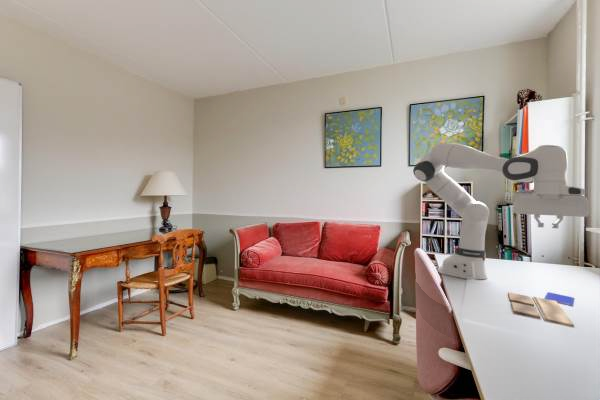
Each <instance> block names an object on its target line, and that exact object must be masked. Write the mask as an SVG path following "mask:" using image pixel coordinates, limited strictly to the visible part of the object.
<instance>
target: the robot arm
mask: <svg viewBox="0 0 600 400" xmlns="http://www.w3.org/2000/svg"><path fill="white" fill-rule="evenodd" d="M447 167H448V168H452V169H457V170H458V169H459V170H483V171H484V170H486V171H492V172H497V173H500V174H502V175H503V176H504V177H505V178H506V179H508V180H510V181H513V182H517V183H518V182H521V183H525V184H532V185H533V186H532V189H518V190H516V191H514V192H513V193H512V194H511V195H512V196H511V197H512V201H513V206H512V212H513V213H514V214H517V215H533V218H534V220H535V221H536V223H537V228H542V229H543V228H545V222H541V220H540V219H539V218H541V216H556V219H557V220H556V221H555V222H552V223H551V228H552V229H559V224H561V222H562V221H563V220H564V217H580V218H581V217H583V218H586V217H589V215H590V212H591V211H590V209H591V208H590V202H589V200H588V198H587V196H585V194H586V189H585V188H582V187H577V186H574V185H568V184H567V183H568V182H567V181H568V180H567V177H566V175H567V171H568V154H567V150H566V149H565V148H564V147H562V146H559V145H551V144H544V145H543V144H542V145H538V146H536V147H535V148H534V149H532V150H531V151H528V152H525V153H523V154H522V155H517V156H514V157H510V158H505V157H500V156H495V155H491V154H488V153H486V152H485V151H481V150H479V149H477V148H474V147H471V146H469V145H465V144H460V143H456V142H455V143H454V142H453V143H452V142H438V143H436V144H435V145H433V147H432V148H431V150H430V151H429V152H428V153H426V154H425V155H424V156H423V157H422V159H420V161H418V162H417V163H416V164H415V166H414V167H413V172H412V173H413V174H414V176H415V178H416V179H417V180H419V181H421V182H423V183H424V184H425V185H427V187H428V188H429V189H430V190H431V191H432V192H433V193H434V194H435V195H436V196H438V197H439V198H440V199H441V200H442V201H443V202H444V203H446V204H447V206H449V207H450V208H451V209H452V210H453V211H454V212H455V213H456V214H457V215H458V216H459V217H460V218H461V219H462V220H461V225H460V226H461V227H460V231H459V242H458V243H459V246H454V253H453V254H451V255H449V256H448V257H446V258H444V259H443V261H442V264H441V265H440V266H439V267H437V270H438V271H437V273H439V274H442V275H446V276H451V277H456V278H461V279H466V280H467V279H469V280H486V279H488V276H487V271H486V264H485V260H486V249H485V247H486V246H485V245H486V243H485V242H486V231H487V227H488V224H489V223H488V222H489V218H490V213H491V212H490V209H489V207H488V206H487V205H486V204H485V203H483V202H481V201H478V200H477V201H476V200H475V199H474V198H473V197H472V196H471V195H470V194H469V193H468V191H466V190H465V188H463V187H462V186H461V185H460V184H459V183H457V182H456V181H455V180H454V179H453V178H452V177H450V176H449V174H448V175H447V174H446V173H445V171H444V170H445V168H447Z"/></svg>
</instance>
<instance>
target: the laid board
mask: <svg viewBox="0 0 600 400" xmlns="http://www.w3.org/2000/svg"><path fill="white" fill-rule="evenodd" d="M532 301H533V303H534V305H536V309H537V311H539V314H540V316H542V319H543V320H544V321H545V322H551V323H556V324H559V325H565V326H568V327H575V324H574V323H573V322H572V320H571V318H570V317H569V316H568V315H567V313H566V312H565V311H564V309H563V308H562V306H561V305H560V303H557V301H553V300H548V299H544V298H541V297H537V296H532Z"/></svg>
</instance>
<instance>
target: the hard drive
mask: <svg viewBox="0 0 600 400" xmlns="http://www.w3.org/2000/svg"><path fill="white" fill-rule="evenodd" d="M543 299H548V300H553V301H557V303H558V304H559V305H560V304H561V305H564V306H569V307H574V303H575V297H573V296H568V295H563V294H558V293H555V292H551V291H550V292H549V291H548V292H547V293H546V295H545V297H544V298H543Z"/></svg>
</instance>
